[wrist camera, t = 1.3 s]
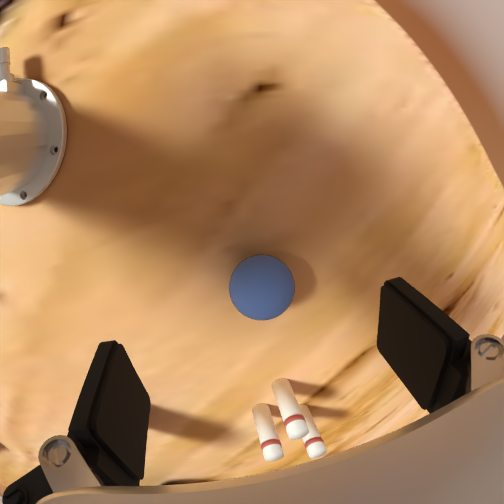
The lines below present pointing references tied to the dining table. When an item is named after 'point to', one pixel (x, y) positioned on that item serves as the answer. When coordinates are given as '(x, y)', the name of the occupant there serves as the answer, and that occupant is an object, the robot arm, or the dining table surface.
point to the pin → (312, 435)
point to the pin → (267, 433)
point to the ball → (261, 287)
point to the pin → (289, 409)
